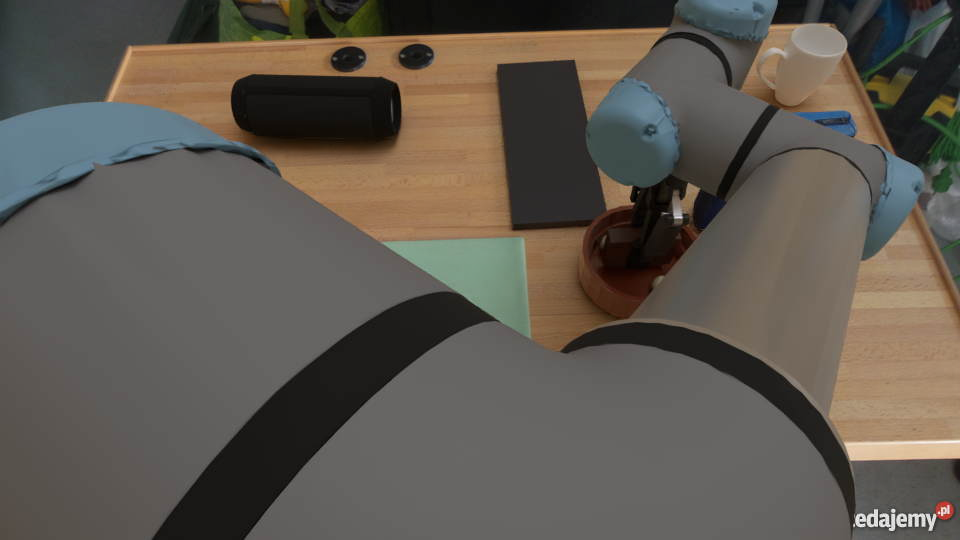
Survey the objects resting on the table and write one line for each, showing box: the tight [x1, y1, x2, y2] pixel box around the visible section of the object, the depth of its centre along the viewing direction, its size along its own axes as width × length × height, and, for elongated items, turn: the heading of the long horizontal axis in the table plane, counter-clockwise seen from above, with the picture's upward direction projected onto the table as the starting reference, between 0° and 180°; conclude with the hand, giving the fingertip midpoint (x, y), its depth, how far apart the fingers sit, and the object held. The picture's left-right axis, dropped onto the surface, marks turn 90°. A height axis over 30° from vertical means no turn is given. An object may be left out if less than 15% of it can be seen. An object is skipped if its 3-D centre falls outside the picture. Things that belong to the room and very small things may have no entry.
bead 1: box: [600, 235, 606, 250], centre depth 79 cm, size 3×3×3 cm
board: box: [496, 59, 608, 231], centre depth 93 cm, size 36×14×2 cm, turn 3°
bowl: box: [577, 204, 698, 320], centre depth 77 cm, size 15×15×6 cm
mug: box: [756, 23, 848, 107], centre depth 92 cm, size 12×8×11 cm
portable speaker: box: [230, 73, 403, 141], centre depth 92 cm, size 26×10×10 cm, turn 86°
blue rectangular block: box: [692, 109, 858, 231], centre depth 75 cm, size 14×5×20 cm, turn 89°
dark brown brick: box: [601, 227, 682, 268], centre depth 75 cm, size 2×9×6 cm, turn 93°
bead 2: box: [652, 276, 665, 290], centre depth 75 cm, size 3×3×3 cm
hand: (635, 257), depth 77 cm, fingers closed on dark brown brick, 2 cm apart
